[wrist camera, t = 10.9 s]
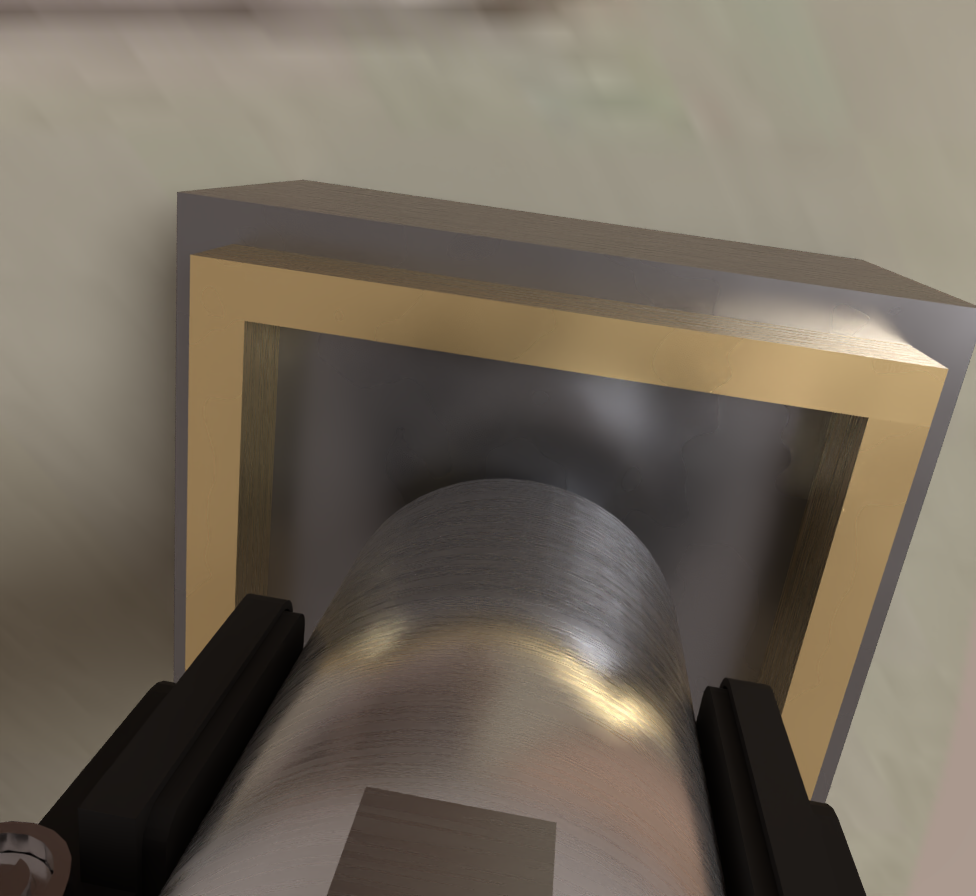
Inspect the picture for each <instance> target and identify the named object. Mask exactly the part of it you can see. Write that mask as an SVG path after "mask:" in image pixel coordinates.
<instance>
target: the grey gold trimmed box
mask: <svg viewBox="0 0 976 896" xmlns="http://www.w3.org/2000/svg"><path fill="white" fill-rule="evenodd" d="M975 344H976V305H973V304H971V303H968V302H966V301H963V300H961V299H958V298H956V297H953V296H951V295H948V294H946V293H943V292H941V291H938V290H936V289H933V288H931V287H929V286H926V285H924V284H921V283H919V282H916V281H914V280H911V279H909V278H906V277H904V276H901V275H899V274H896V273H894V272H891V271H889V270H886V269H884V268H881V267H879V266H876V265H874V264H871V263H869V262H866V261H864V260H858V259H851V258H845V257H838V256H831V255H824V254H817V253H810V252H803V251H796V250H789V249H782V248H775V247H768V246H761V245H754V244H747V243H740V242H733V241H726V240H719V239H712V238H705V237H698V236H691V235H684V234H677V233H670V232H663V231H656V230H649V229H642V228H635V227H628V226H621V225H614V224H607V223H600V222H593V221H586V220H579V219H572V218H565V217H558V216H551V215H544V214H537V213H530V212H524V211H517V210H510V209H503V208H496V207H489V206H482V205H475V204H468V203H461V202H454V201H447V200H440V199H433V198H426V197H419V196H412V195H405V194H398V193H391V192H384V191H377V190H370V189H363V188H356V187H349V186H342V185H335V184H328V183H321V182H314V181H307V180H296V181H286V182H276V183H265V184H255V185H244V186H234V187H224V188H213V189H203V190H192V191H182V192H177V302H176V443H175V585H174V683H177V682H178V680H179V679H180V678H181V677H182V675H183V674H184V673H185V671H186V670H187V669H188V668H189V666H190V665H191V664H192V663H193V661H194V660H195V659H196V657H197V656H198V655H199V654H200V652H201V651H202V650H203V649H204V647H205V646H206V645H207V644H208V642H209V641H210V640H211V638H212V637H213V636H214V635H215V633H216V632H217V631H218V630H219V628H220V627H221V626H222V625H223V623H224V622H225V621H226V619H227V618H228V617H229V616H230V614H231V613H232V612H233V611H234V609H235V608H236V607H237V605H238V604H239V603H240V602H241V600H242V599H243V598H244V597H245V596H246V595H247V594H250V593H252V594H257V595H263V596H269V597H274V598H280V599H286V600H290V601H291V602H292V606H293V612H296V613H301V614H303V615H304V617H305V632H304V647H305V645H306V643H307V642H308V640H309V638H310V637H311V635H312V633H313V632H314V630H315V628H316V626H317V625H318V623H319V621H320V620H321V618H322V616H323V615H324V613H325V611H326V609H327V608H328V606H329V604H330V603H331V601H332V599H333V597H334V596H335V594H336V592H337V591H338V589H339V587H340V586H341V584H342V582H343V580H344V579H345V577H346V575H347V574H348V572H349V570H350V569H351V567H352V565H353V563H354V562H355V560H356V558H357V557H358V555H359V553H360V552H361V550H362V549H363V547H364V546H365V544H366V543H367V541H368V540H369V539H370V537H371V536H372V535H373V534H374V532H375V531H376V530H377V529H378V528H379V527H380V526H381V525H382V524H383V523H384V522H385V521H386V520H387V519H388V518H390V517H391V516H392V515H393V514H394V513H396V512H397V511H398V510H399V509H401V508H402V507H404V506H405V505H407V504H409V503H410V502H412V501H414V500H415V499H417V498H419V497H421V496H423V495H425V494H428V493H430V492H432V491H435V490H437V489H439V488H443V487H446V486H450V485H453V484H457V483H460V482H466V481H473V480H480V479H499V478H509V479H519V480H529V481H535V482H539V483H543V484H548V485H552V486H556V487H558V488H561V489H564V490H567V491H570V492H572V493H575V494H577V495H579V496H581V497H583V498H585V499H587V500H589V501H591V502H593V503H595V504H597V505H599V506H600V507H602V508H603V509H605V510H606V511H608V512H609V513H611V514H612V515H613V516H615V517H616V518H618V519H619V520H620V521H621V522H622V523H623V524H624V525H625V526H627V527H628V528H629V529H630V530H631V531H632V532H633V533H634V534H635V535H636V536H637V537H638V538H639V539H640V541H641V542H642V543H643V544H644V545H645V546H646V547H647V549H648V550H649V552H650V553H651V555H652V556H653V558H654V559H655V561H656V562H657V564H658V565H659V567H660V569H661V571H662V573H663V575H664V577H665V579H666V581H667V583H668V586H669V589H670V592H671V595H672V598H673V602H674V605H675V610H676V615H677V621H678V626H679V632H680V637H681V643H682V648H683V654H684V660H685V665H686V671H687V676H688V682H689V687H690V693H691V698H692V704H693V710H694V715H695V721H696V720H697V716H698V712H699V708H700V704H701V700H702V696H703V693H704V690H705V688H706V687H707V686H712V687H718V688H719V687H720V684H721V682H722V680H723V679H724V678H725V677H727V678H732V679H738V680H744V681H749V682H755V683H760V684H766V685H769V686H771V688H772V690H773V693H774V696H775V699H776V702H777V705H778V708H779V711H780V714H781V717H782V720H783V723H784V726H785V729H786V732H787V735H788V738H789V741H790V744H791V747H792V750H793V753H794V756H795V759H796V762H797V765H798V768H799V771H800V774H801V777H802V780H803V783H804V786H805V790H806V793H807V796H808V799H809V800H810V801H816V802H821V803H825V801H826V798H827V795H828V792H829V789H830V786H831V783H832V780H833V777H834V774H835V771H836V768H837V765H838V762H839V759H840V756H841V753H842V750H843V746H844V743H845V740H846V737H847V734H848V731H849V728H850V725H851V722H852V719H853V716H854V713H855V710H856V707H857V704H858V701H859V698H860V695H861V692H862V688H863V685H864V682H865V679H866V676H867V673H868V670H869V667H870V664H871V661H872V658H873V655H874V652H875V649H876V646H877V643H878V640H879V637H880V634H881V630H882V627H883V624H884V621H885V618H886V615H887V612H888V609H889V606H890V603H891V600H892V597H893V594H894V591H895V588H896V585H897V582H898V579H899V576H900V572H901V569H902V566H903V563H904V560H905V557H906V554H907V551H908V548H909V545H910V542H911V539H912V536H913V533H914V530H915V527H916V524H917V521H918V518H919V514H920V511H921V508H922V505H923V502H924V499H925V496H926V493H927V490H928V487H929V484H930V481H931V478H932V475H933V472H934V469H935V466H936V463H937V460H938V456H939V453H940V450H941V447H942V444H943V441H944V438H945V435H946V432H947V429H948V426H949V423H950V420H951V417H952V414H953V411H954V408H955V405H956V402H957V398H958V395H959V392H960V389H961V386H962V383H963V380H964V377H965V374H966V371H967V368H968V365H969V362H970V359H971V356H972V353H973V350H974V347H975ZM304 647H303V649H304Z"/></svg>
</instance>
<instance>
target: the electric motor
mask: <svg viewBox="0 0 976 896" xmlns="http://www.w3.org/2000/svg"><path fill="white" fill-rule="evenodd" d="M159 896H727V893H726V887H725V882H724V876H723V871H722V865H721V859H720V854H719V848H718V843H717V837H716V832H715V826H714V821H713V815H712V809H711V804H710V798H709V793H708V787H707V782H706V776H705V771H704V765H703V760H702V754H701V748H700V743H699V737H698V732H697V726H696V721H695V715H694V710H693V704H692V698H691V693H690V687H689V682H688V676H687V671H686V665H685V660H684V654H683V648H682V643H681V637H680V632H679V626H678V621H677V615H676V610H675V605H674V602H673V598H672V595H671V592H670V589H669V586H668V583H667V581H666V579H665V577H664V575H663V573H662V571H661V569H660V567H659V565H658V564H657V562H656V561H655V559H654V558H653V556H652V555H651V553H650V552H649V550H648V549H647V547H646V546H645V545H644V544H643V543H642V542H641V541H640V539H639V538H638V537H637V536H636V535H635V534H634V533H633V532H632V531H631V530H630V529H629V528H628V527H627V526H625V525H624V524H623V523H622V522H621V521H620V520H619V519H618V518H616V517H615V516H613V515H612V514H611V513H609V512H608V511H606V510H605V509H603V508H602V507H600V506H599V505H597V504H595V503H593V502H591V501H589V500H587V499H585V498H583V497H581V496H579V495H577V494H575V493H572V492H570V491H567V490H564V489H561V488H558V487H556V486H552V485H548V484H543V483H539V482H535V481H529V480H519V479H509V478H499V479H480V480H473V481H466V482H460V483H457V484H453V485H450V486H446V487H443V488H439V489H437V490H435V491H432V492H430V493H428V494H425V495H423V496H421V497H419V498H417V499H415V500H414V501H412V502H410V503H409V504H407V505H405V506H404V507H402V508H401V509H399V510H398V511H397V512H396V513H394V514H393V515H392V516H391V517H390V518H388V519H387V520H386V521H385V522H384V523H383V524H382V525H381V526H380V527H379V528H378V529H377V530H376V531H375V532H374V534H373V535H372V536H371V537H370V539H369V540H368V541H367V543H366V544H365V546H364V547H363V549H362V550H361V552H360V553H359V555H358V557H357V558H356V560H355V562H354V563H353V565H352V567H351V569H350V570H349V572H348V574H347V575H346V577H345V579H344V580H343V582H342V584H341V586H340V587H339V589H338V591H337V592H336V594H335V596H334V597H333V599H332V601H331V603H330V604H329V606H328V608H327V609H326V611H325V613H324V615H323V616H322V618H321V620H320V621H319V623H318V625H317V626H316V628H315V630H314V632H313V633H312V635H311V637H310V638H309V640H308V642H307V643H306V645H305V647H304V649H303V650H302V652H301V654H300V655H299V657H298V659H297V661H296V662H295V664H294V666H293V667H292V669H291V671H290V672H289V674H288V676H287V678H286V679H285V681H284V683H283V684H282V686H281V688H280V690H279V691H278V693H277V695H276V696H275V698H274V700H273V701H272V703H271V705H270V707H269V708H268V710H267V712H266V713H265V715H264V717H263V718H262V720H261V722H260V724H259V725H258V727H257V729H256V730H255V732H254V734H253V736H252V737H251V739H250V741H249V742H248V744H247V746H246V747H245V749H244V751H243V753H242V754H241V756H240V758H239V759H238V761H237V763H236V765H235V766H234V768H233V770H232V771H231V773H230V775H229V776H228V778H227V780H226V782H225V783H224V785H223V787H222V788H221V790H220V792H219V793H218V795H217V797H216V799H215V800H214V802H213V804H212V805H211V807H210V809H209V811H208V812H207V814H206V816H205V817H204V819H203V821H202V822H201V824H200V826H199V828H198V829H197V831H196V833H195V834H194V836H193V838H192V839H191V841H190V843H189V845H188V846H187V848H186V850H185V851H184V853H183V855H182V857H181V858H180V860H179V862H178V863H177V865H176V867H175V868H174V870H173V872H172V874H171V875H170V877H169V879H168V880H167V882H166V884H165V886H164V887H163V889H162V891H161V892H160V894H159Z"/></svg>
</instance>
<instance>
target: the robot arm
mask: <svg viewBox="0 0 976 896" xmlns="http://www.w3.org/2000/svg"><path fill="white" fill-rule="evenodd" d="M304 632H305V617H304V615H303V614H301V613H296V612H293V606H292V602H291V601H290V600H286V599H280V598H274V597H269V596H263V595H257V594H252V593H250V594H247V595H246V596H245V597H244V598H243V599H242V600H241V602H240V603H239V604H238V605H237V607H236V608H235V609H234V611H233V612H232V613H231V614H230V616H229V617H228V618H227V619H226V621H225V622H224V623H223V625H222V626H221V627H220V628H219V630H218V631H217V632H216V633H215V635H214V636H213V637H212V638H211V640H210V641H209V642H208V644H207V645H206V646H205V647H204V649H203V650H202V651H201V652H200V654H199V655H198V656H197V657H196V659H195V660H194V661H193V663H192V664H191V665H190V666H189V668H188V669H187V670H186V671H185V673H184V674H183V675H182V677H181V678H180V679H179V680H178V682H177V683H173V682H168V681H161V682H158V683H156V684H155V685H154V686H153V687H152V688H151V689H150V690H149V691H148V692H147V694H146V695H145V696H144V697H143V698H142V700H141V701H140V702H139V703H138V704H137V706H136V707H135V708H134V709H133V710H132V712H131V713H130V714H129V715H128V716H127V718H126V719H125V720H124V721H123V722H122V724H121V725H120V726H119V727H118V729H117V730H116V731H115V732H114V733H113V735H112V736H111V737H110V738H109V739H108V741H107V742H106V743H105V744H104V745H103V747H102V748H101V749H100V750H99V751H98V753H97V754H96V755H95V756H94V757H93V759H92V760H91V761H90V762H89V764H88V765H87V766H86V767H85V768H84V770H83V771H82V772H81V773H80V774H79V776H78V777H77V778H76V779H75V780H74V782H73V783H72V784H71V785H70V786H69V788H68V789H67V790H66V791H65V792H64V794H63V795H62V796H61V797H60V799H59V800H58V801H57V802H56V803H55V805H54V806H53V807H52V808H51V809H50V811H49V812H48V813H47V814H46V815H45V817H44V818H43V819H42V820H41V821H40V823H39V824H36V823H28V822H17V821H9V822H1V823H0V896H159V894H160V892H161V891H162V889H163V887H164V886H165V884H166V882H167V880H168V879H169V877H170V875H171V874H172V872H173V870H174V868H175V867H176V865H177V863H178V862H179V860H180V858H181V857H182V855H183V853H184V851H185V850H186V848H187V846H188V845H189V843H190V841H191V839H192V838H193V836H194V834H195V833H196V831H197V829H198V828H199V826H200V824H201V822H202V821H203V819H204V817H205V816H206V814H207V812H208V811H209V809H210V807H211V805H212V804H213V802H214V800H215V799H216V797H217V795H218V793H219V792H220V790H221V788H222V787H223V785H224V783H225V782H226V780H227V778H228V776H229V775H230V773H231V771H232V770H233V768H234V766H235V765H236V763H237V761H238V759H239V758H240V756H241V754H242V753H243V751H244V749H245V747H246V746H247V744H248V742H249V741H250V739H251V737H252V736H253V734H254V732H255V730H256V729H257V727H258V725H259V724H260V722H261V720H262V718H263V717H264V715H265V713H266V712H267V710H268V708H269V707H270V705H271V703H272V701H273V700H274V698H275V696H276V695H277V693H278V691H279V690H280V688H281V686H282V684H283V683H284V681H285V679H286V678H287V676H288V674H289V672H290V671H291V669H292V667H293V666H294V664H295V662H296V661H297V659H298V657H299V655H300V654H301V652H302V650H303V647H304ZM696 726H697V732H698V737H699V743H700V748H701V754H702V760H703V765H704V771H705V776H706V782H707V787H708V793H709V798H710V804H711V809H712V815H713V821H714V826H715V832H716V837H717V843H718V848H719V854H720V859H721V865H722V871H723V876H724V882H725V887H726V893H727V896H866V893H865V891H864V888H863V885H862V882H861V880H860V877H859V874H858V872H857V869H856V866H855V863H854V861H853V858H852V855H851V852H850V850H849V847H848V844H847V841H846V839H845V836H844V833H843V831H842V828H841V825H840V822H839V820H838V817H837V815H836V813H835V811H834V809H833V808H832V807H831V806H829V805H828V804H826V803H821V802H816V801H810V800H809V799H808V796H807V793H806V790H805V786H804V783H803V780H802V777H801V774H800V771H799V768H798V765H797V762H796V759H795V756H794V753H793V750H792V747H791V744H790V741H789V738H788V735H787V732H786V729H785V726H784V723H783V720H782V717H781V714H780V711H779V708H778V705H777V702H776V699H775V696H774V693H773V690H772V688H771V686H769V685H766V684H760V683H755V682H749V681H744V680H738V679H732V678H727V677H725V678H724V679H723V680H722V682H721V684H720V687H719V688H718V687H712V686H707V687H706V688H705V690H704V693H703V696H702V700H701V704H700V708H699V712H698V716H697V720H696Z"/></svg>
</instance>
